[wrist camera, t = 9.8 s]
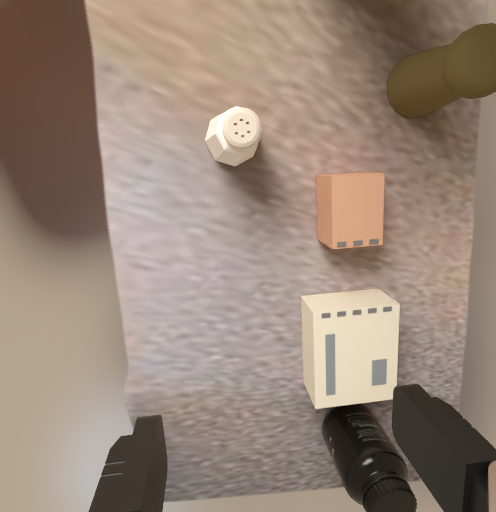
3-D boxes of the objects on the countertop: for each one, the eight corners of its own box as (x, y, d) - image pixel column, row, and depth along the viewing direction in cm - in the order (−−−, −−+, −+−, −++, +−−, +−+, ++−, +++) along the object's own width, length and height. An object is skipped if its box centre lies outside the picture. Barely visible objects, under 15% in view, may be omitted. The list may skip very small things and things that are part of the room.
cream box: (300, 296, 42) (313, 313, 37) (377, 288, 43) (399, 304, 38) (303, 382, 45) (315, 409, 40) (376, 374, 45) (396, 399, 41)
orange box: (316, 175, 39) (332, 176, 34) (362, 172, 39) (384, 173, 34) (317, 239, 41) (332, 249, 36) (361, 235, 41) (383, 245, 36)
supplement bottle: (309, 430, 46) (343, 518, 35) (345, 390, 46) (392, 467, 34) (348, 456, 48) (394, 549, 36) (384, 417, 47) (442, 500, 36)
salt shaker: (261, 163, 38) (282, 163, 28) (208, 169, 38) (208, 170, 27) (256, 107, 37) (276, 83, 26) (201, 112, 36) (198, 90, 26)
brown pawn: (453, 95, 39) (546, 68, 28) (404, 130, 39) (478, 116, 28) (426, 41, 37) (515, -10, 26) (376, 77, 37) (443, 42, 27)
